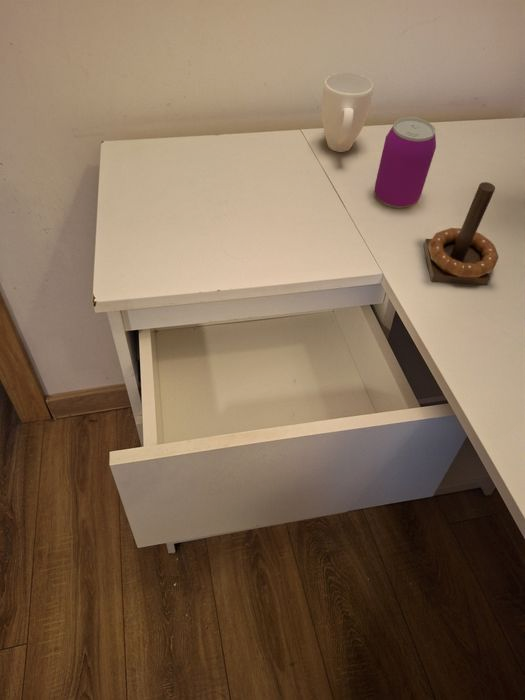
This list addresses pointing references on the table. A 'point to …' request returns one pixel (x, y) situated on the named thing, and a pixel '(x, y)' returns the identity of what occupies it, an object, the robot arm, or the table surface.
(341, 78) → the mug
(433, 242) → the ring
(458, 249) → the peg stand
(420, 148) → the beverage can
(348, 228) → the table surface
